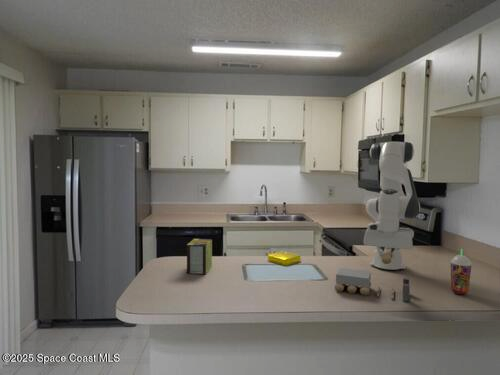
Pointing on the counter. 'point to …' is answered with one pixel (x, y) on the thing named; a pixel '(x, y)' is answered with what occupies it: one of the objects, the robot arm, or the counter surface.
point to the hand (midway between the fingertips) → (387, 257)
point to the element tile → (284, 258)
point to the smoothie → (460, 274)
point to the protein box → (199, 256)
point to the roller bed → (363, 290)
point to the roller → (386, 256)
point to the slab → (353, 277)
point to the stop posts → (406, 289)
